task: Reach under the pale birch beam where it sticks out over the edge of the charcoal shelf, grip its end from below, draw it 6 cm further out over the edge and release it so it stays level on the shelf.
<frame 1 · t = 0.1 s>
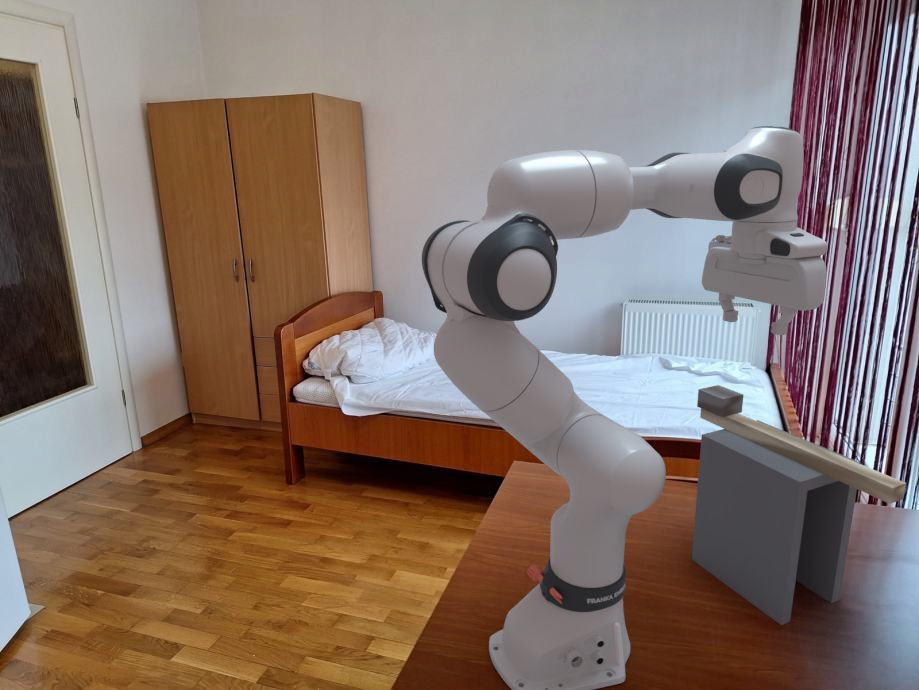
hand: (753, 327, 99), 48 cm above the table, tool pointing down, fingers open, 8 cm apart
charcoal shelf: (761, 578, 114), on the table
birch beam: (786, 452, 105), point 26 cm above the table, touching charcoal shelf
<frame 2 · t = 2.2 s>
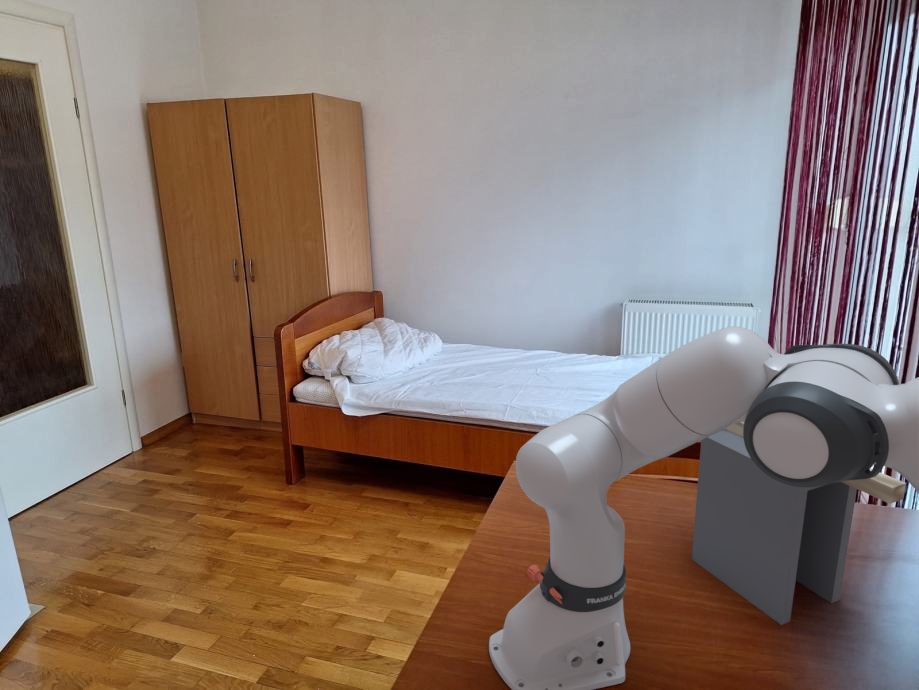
nothing on the table moved.
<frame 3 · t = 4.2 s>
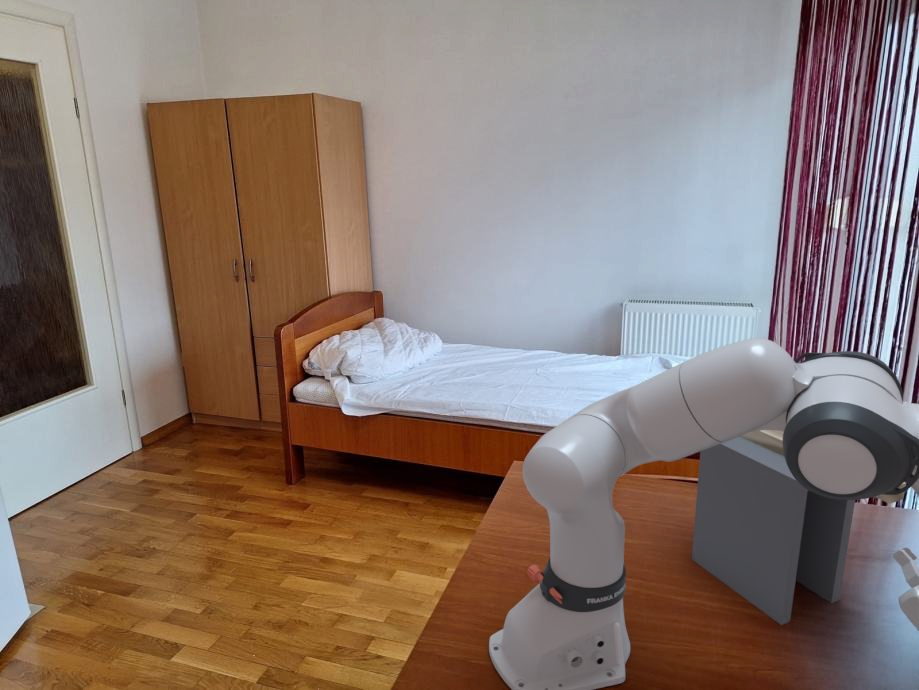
nothing on the table moved.
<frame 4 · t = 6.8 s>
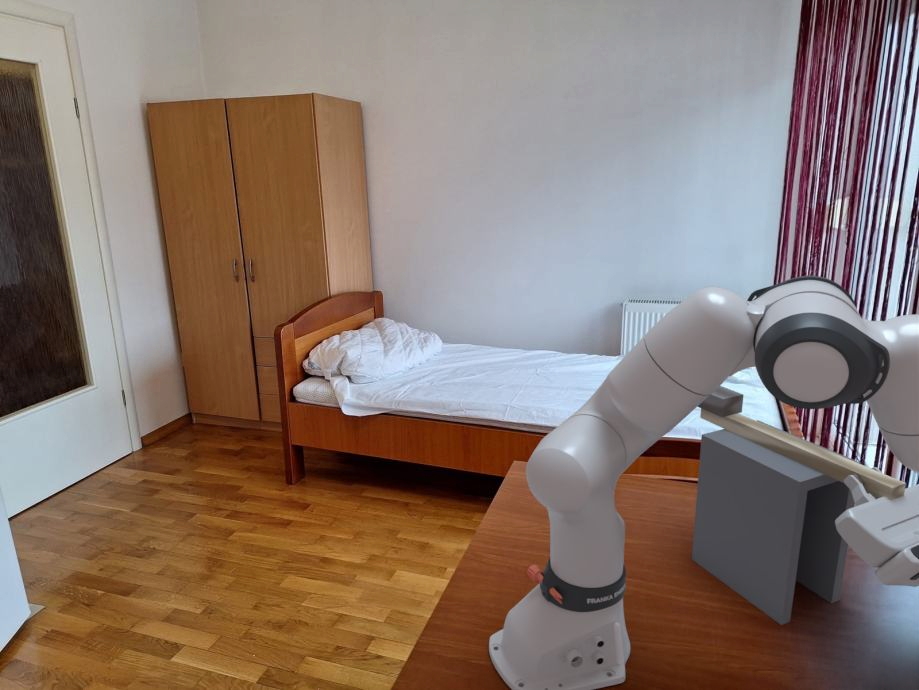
hand: (859, 473, 94), 28 cm above the table, tool pointing upward, fingers closed on birch beam, 3 cm apart
birch beam: (786, 452, 105), point 26 cm above the table, touching charcoal shelf, gripper
everything else where it was.
when the fingers open (28 cm above the table, at t = 9.7 s): birch beam stays where it is, resting on charcoal shelf.
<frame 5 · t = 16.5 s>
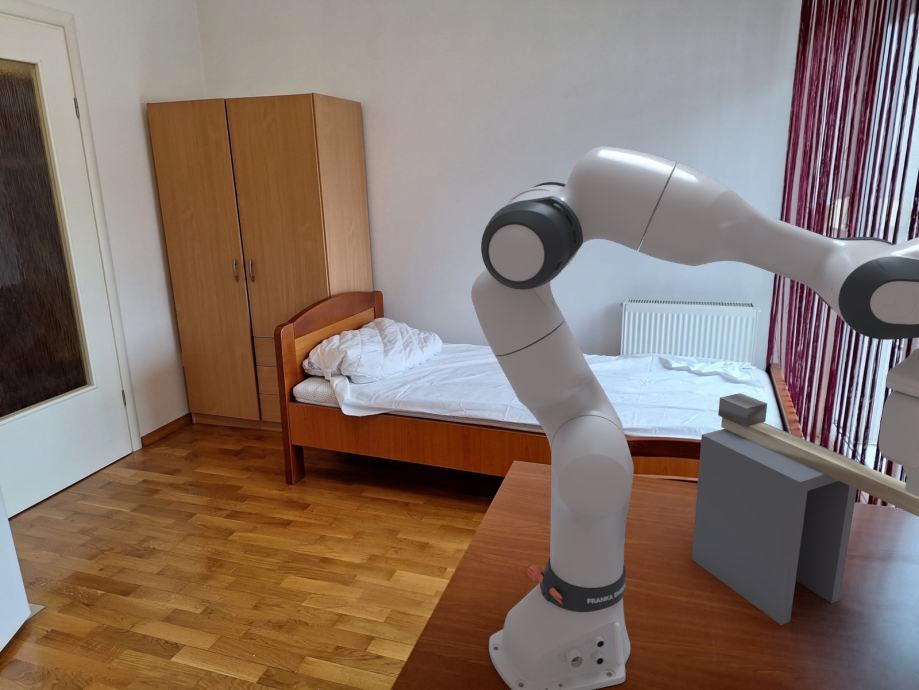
birch beam: (814, 464, 100), point 26 cm above the table, touching charcoal shelf
at the end: birch beam inside the target area (0.9 cm from its centre), point 26.0 cm above the table; birch beam moved 5.1 cm from its start; birch beam tilted 0° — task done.
